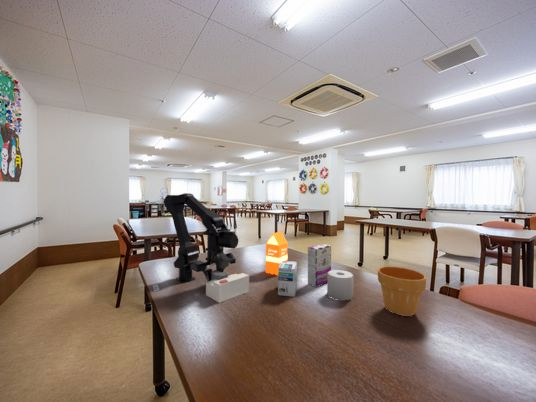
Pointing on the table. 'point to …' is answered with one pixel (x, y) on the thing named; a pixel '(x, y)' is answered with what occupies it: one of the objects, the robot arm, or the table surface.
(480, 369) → the table surface
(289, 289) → the light bulb box
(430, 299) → the table surface
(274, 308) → the table surface
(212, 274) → the plug
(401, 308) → the flower pot
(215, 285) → the socket
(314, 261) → the candy bar box
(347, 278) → the toilet tissue
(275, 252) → the orange juice
